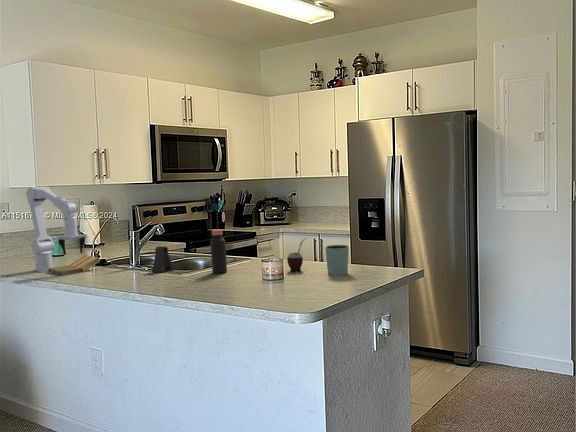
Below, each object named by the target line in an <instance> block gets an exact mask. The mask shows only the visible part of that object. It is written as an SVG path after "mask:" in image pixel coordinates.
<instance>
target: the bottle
mask: <svg viewBox="0 0 576 432" xmlns="http://www.w3.org/2000/svg"><path fill="white" fill-rule="evenodd" d="M223 234H224V233H223V229H219V228H217V229H212V230H211V235H212V239H210V257H211V270H212V271H211V272H212V274H216V275H218V274H220V275H221V274H226V273H227V272H228V266H227V250H226V247H227V246H226V240H225V239H224V237H223Z"/></svg>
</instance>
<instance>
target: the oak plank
mask: <svg viewBox="0 0 576 432" xmlns="http://www.w3.org/2000/svg"><path fill="white" fill-rule="evenodd" d="M99 262H101V259H100V257H99V256H98V257H97V256H92V255H87V254H83V255H81V256H80V257H78V258H77V259H75V260H74V261H72V262H70V263H69V264H67V265H68V266H72V267H77V268H81V269H82V272H84V273H85V272H86V271H87V270H89V269H90V268H92V267H93V266H95V265H97V264H98V263H99Z"/></svg>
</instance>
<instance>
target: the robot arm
mask: <svg viewBox="0 0 576 432" xmlns="http://www.w3.org/2000/svg"><path fill="white" fill-rule="evenodd" d="M25 195H26V199H27V203H28V204H29V209H30V214H31V221H32V224H33V228H34V229H33V230H34V233H35V237H34V238H33V239H32V240H31V244H32V245H31V250H32V252H33V254H34V255H36V256H35V257H34V263H35V269H34V271H35V272H39V273H45V272H48V268H54V266H53V257H52V253H54V250H55V243H54V240H53V238H52V237H51V236H50V235H48V234H47V229H46V225H45V221H44V220H45V219H44V215H43V210H42V204H43V203H45V201H46V200H49V201H50V202H52V205H53V206H54V207H56V209H59V210H60V213H61V215H62V217H63V220H64V221H63V223H64V233H65V235H60V236H55V241H58V244H59V245H60V247H61V249H62V252H63V255H65V256H66V255H67V251H66V241H68V240H69V241H70V240H79V252H80V254H82V253H83V247H84V243H85V240H86V239H88V234H87V233H85V234H79V233H78V224H77V223H78V221H77V213H78V212H79V207H78V204H77V203H76V202H75V201H72V202H71V201H70V200H68V199H66V198H64V196H63V195H56V194H55V193H54V192H52V191H51V189H50V187H48V186H46V185H44V186H30V187H28V188H27V191H26V193H25Z"/></svg>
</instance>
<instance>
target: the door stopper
mask: <svg viewBox="0 0 576 432" xmlns="http://www.w3.org/2000/svg"><path fill="white" fill-rule="evenodd" d="M154 249H155V255H154V260H153V264H152V269H151V272H152V273H156V274H157V273H158V274H161V273H165V272H166V273H167V272H171V271H175V268H174V265H173V263H172V259H171V258H170V255H169V248H168V247H167V246H160V245H159V246H156V247H155V248H154Z"/></svg>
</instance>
